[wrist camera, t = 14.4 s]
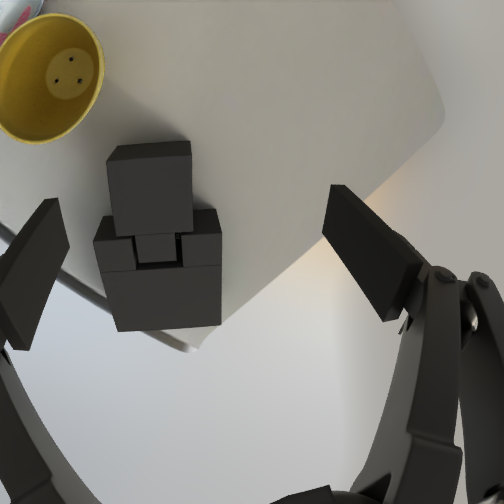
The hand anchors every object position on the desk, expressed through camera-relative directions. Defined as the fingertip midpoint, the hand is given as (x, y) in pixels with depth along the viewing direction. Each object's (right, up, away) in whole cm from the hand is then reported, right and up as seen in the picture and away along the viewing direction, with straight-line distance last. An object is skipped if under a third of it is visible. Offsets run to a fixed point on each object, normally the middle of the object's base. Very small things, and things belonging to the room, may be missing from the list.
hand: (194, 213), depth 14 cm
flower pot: (-14, +14, +7) cm, 21 cm away
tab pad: (-7, +4, +15) cm, 17 cm away
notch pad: (-7, -3, +20) cm, 22 cm away
